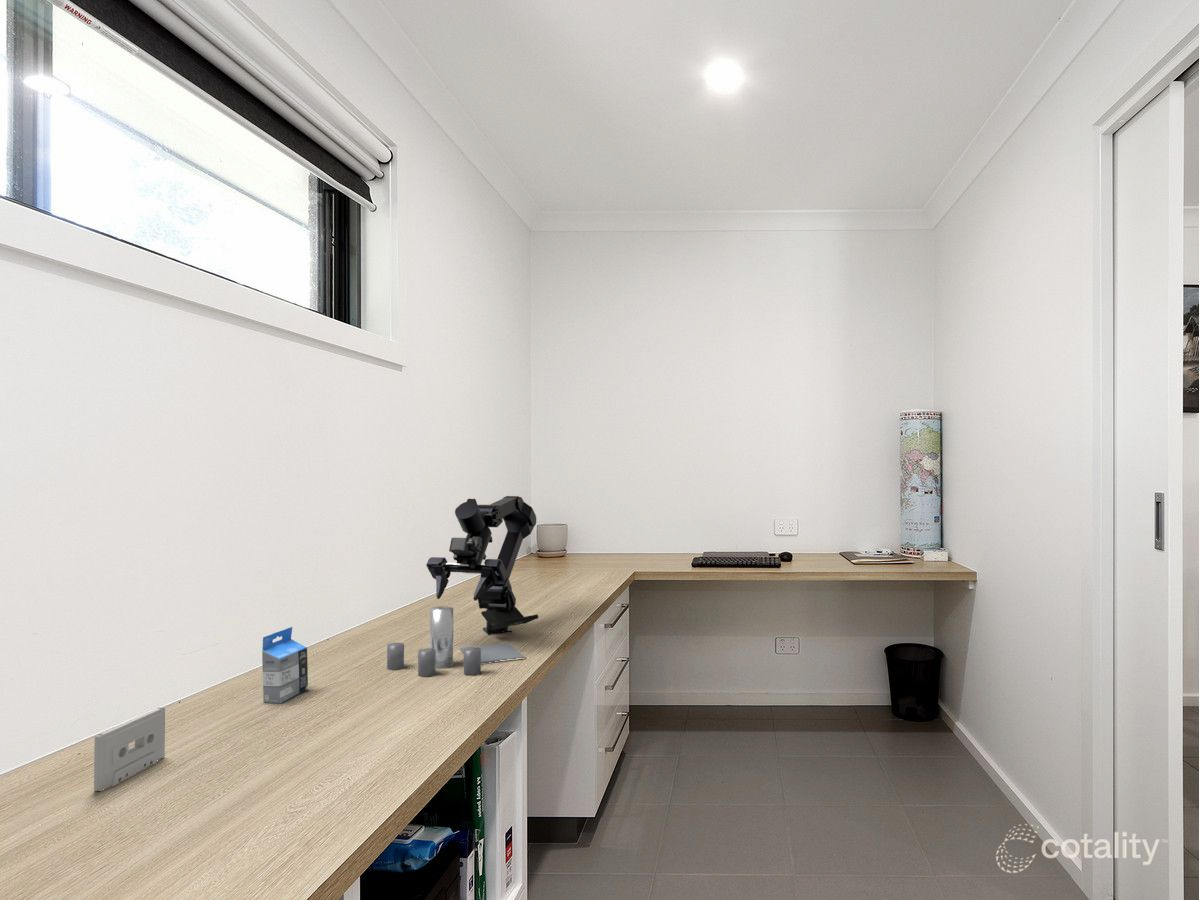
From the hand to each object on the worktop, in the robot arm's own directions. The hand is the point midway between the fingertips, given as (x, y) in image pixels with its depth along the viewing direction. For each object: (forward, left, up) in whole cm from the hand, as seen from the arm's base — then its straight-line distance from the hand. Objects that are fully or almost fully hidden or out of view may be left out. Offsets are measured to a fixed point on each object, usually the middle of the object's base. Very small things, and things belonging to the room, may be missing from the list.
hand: (456, 598), depth 167 cm
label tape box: (+16, -36, -13) cm, 41 cm away
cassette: (+45, -56, -14) cm, 73 cm away
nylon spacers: (+11, -8, -13) cm, 19 cm away
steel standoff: (+6, -4, -13) cm, 15 cm away
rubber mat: (+2, +8, -13) cm, 16 cm away
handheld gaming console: (-12, +17, -10) cm, 23 cm away
